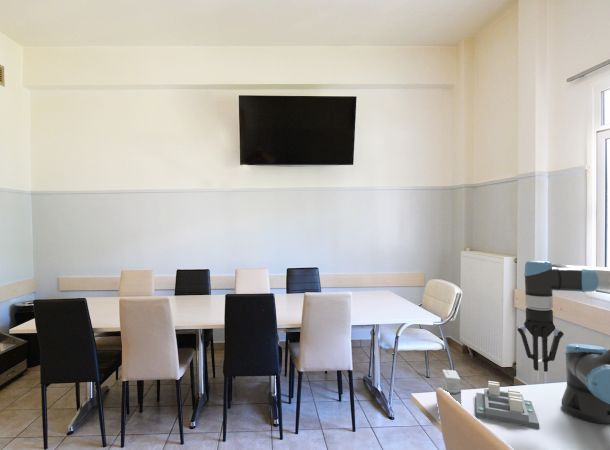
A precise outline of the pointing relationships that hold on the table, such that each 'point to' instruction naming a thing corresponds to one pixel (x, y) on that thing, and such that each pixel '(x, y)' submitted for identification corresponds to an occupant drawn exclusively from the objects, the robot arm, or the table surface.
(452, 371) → the ink box
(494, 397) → the switch board
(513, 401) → the tab
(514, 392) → the tab
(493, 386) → the tab
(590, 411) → the robot arm
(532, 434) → the table surface
